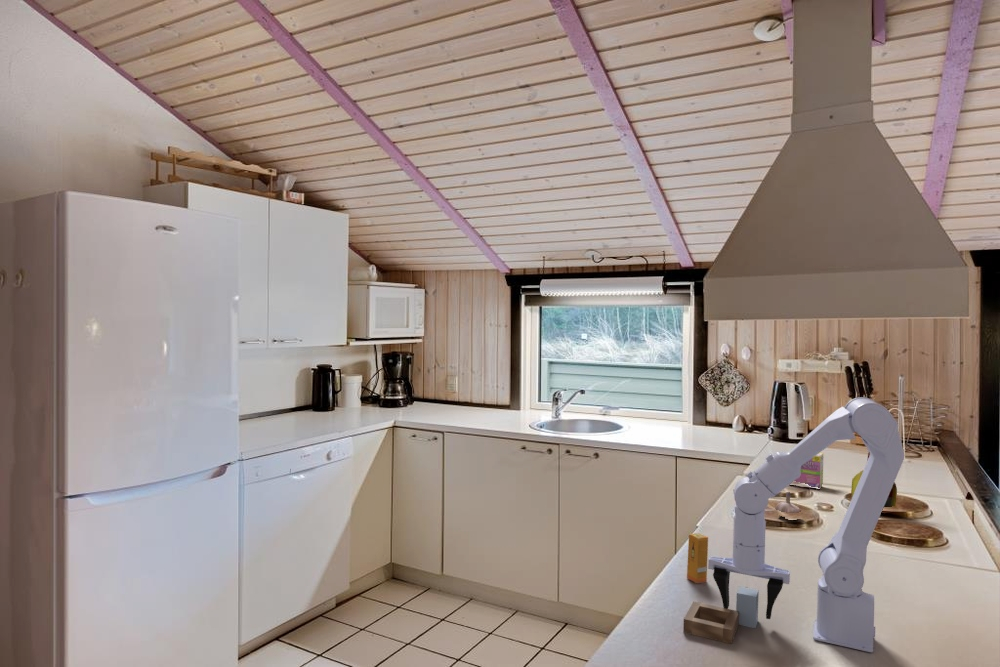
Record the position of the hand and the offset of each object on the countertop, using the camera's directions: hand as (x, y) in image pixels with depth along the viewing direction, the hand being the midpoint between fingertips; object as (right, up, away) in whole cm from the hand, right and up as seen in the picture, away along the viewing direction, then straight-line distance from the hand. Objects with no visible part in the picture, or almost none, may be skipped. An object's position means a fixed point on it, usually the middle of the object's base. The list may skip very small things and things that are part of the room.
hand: (747, 612), depth 125 cm
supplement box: (-4, -2, +20) cm, 20 cm away
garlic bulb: (+37, -1, +65) cm, 75 cm away
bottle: (+66, -1, +73) cm, 98 cm away
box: (+59, 0, +102) cm, 118 cm away
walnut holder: (-8, -2, -3) cm, 8 cm away
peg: (0, -2, 0) cm, 2 cm away
